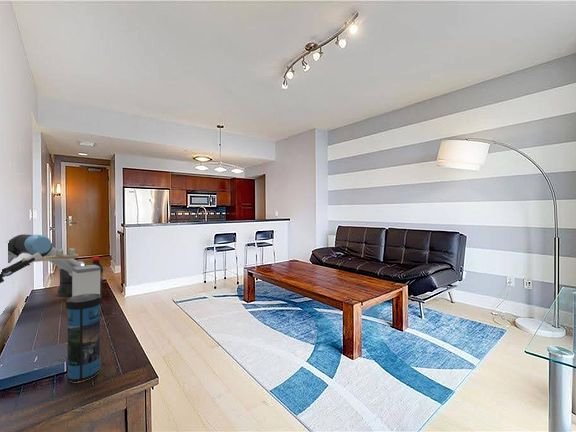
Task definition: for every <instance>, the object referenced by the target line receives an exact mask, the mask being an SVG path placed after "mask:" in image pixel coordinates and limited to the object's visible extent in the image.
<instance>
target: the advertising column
mask: <svg viewBox="0 0 576 432" xmlns="http://www.w3.org/2000/svg"><path fill="white" fill-rule="evenodd" d="M102 303H103V296H102V295H100V294H83V295H77V296H74V297H72V296H70V297H68V298H67V299H66V300H65V309H67V381H68V380H69V381H72V382H78V381H83V380H86V379H89V378H91V377H93V376H95V375H96V374H97V373H98V372H99V371H100V372H101V347H100V346H101V304H102ZM100 372H99V373H100Z"/></svg>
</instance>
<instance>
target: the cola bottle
mask: <svg viewBox="0 0 576 432" xmlns="http://www.w3.org/2000/svg"><path fill="white" fill-rule="evenodd" d="M100 258H101V257H99V256H94V257H92V263H91V265H97V266H99V267H101V270H100V295H102V297H103V296H104V292H103V283H104V268H103V266H102V264H101V263H100Z"/></svg>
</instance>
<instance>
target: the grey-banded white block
mask: <svg viewBox="0 0 576 432" xmlns="http://www.w3.org/2000/svg"><path fill="white" fill-rule="evenodd" d="M100 270H101V267H99V266H97V265H92V264H87V266H77V267H72V295H71V297H74V296H77V295H83V294H100Z"/></svg>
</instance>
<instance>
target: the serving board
mask: <svg viewBox="0 0 576 432" xmlns="http://www.w3.org/2000/svg"><path fill="white" fill-rule="evenodd" d="M63 253H64V249H63V248H58V249H57V248H56V256H47V257H42V258H40V259H38V260H36V261H34V262H33V263H35V262H37V263H38V262H46V261H47V262H49V260H60V259H71V258H73V259H78V258H79V254H78V253H76V247H75V248H73V247H70V248H68V251H67V253H68V254H66V255H63ZM27 259H29V258H28V257H26V258H25V257H23V258H21V260H22V262H24V261H26V260H27Z"/></svg>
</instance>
